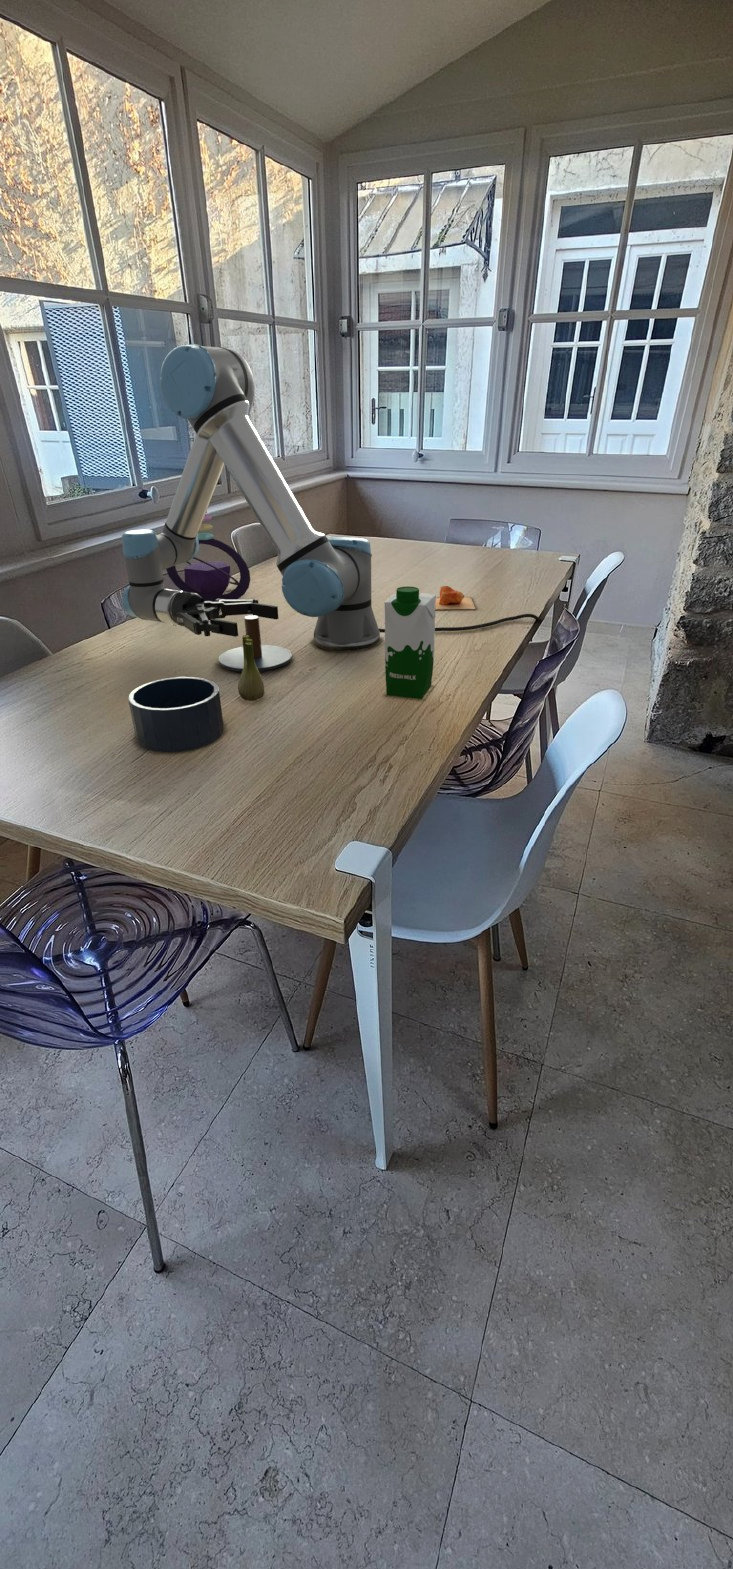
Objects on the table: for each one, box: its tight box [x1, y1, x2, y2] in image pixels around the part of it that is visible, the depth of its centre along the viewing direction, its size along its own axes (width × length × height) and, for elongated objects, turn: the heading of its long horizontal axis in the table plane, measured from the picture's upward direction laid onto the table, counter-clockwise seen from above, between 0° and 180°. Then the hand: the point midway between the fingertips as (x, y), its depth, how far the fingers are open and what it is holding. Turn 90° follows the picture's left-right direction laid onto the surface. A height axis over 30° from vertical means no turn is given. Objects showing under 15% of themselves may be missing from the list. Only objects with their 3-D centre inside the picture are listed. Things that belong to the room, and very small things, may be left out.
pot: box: [127, 676, 225, 754], centre depth 118 cm, size 15×15×8 cm
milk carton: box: [383, 586, 437, 700], centre depth 130 cm, size 9×9×20 cm
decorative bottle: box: [165, 511, 251, 602], centre depth 193 cm, size 22×21×25 cm
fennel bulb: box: [237, 634, 265, 702], centre depth 129 cm, size 6×5×12 cm
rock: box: [435, 585, 476, 611], centre depth 187 cm, size 12×12×4 cm
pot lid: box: [218, 614, 293, 672], centre depth 148 cm, size 16×16×10 cm
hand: (257, 621), depth 145 cm, fingers open, 13 cm apart
